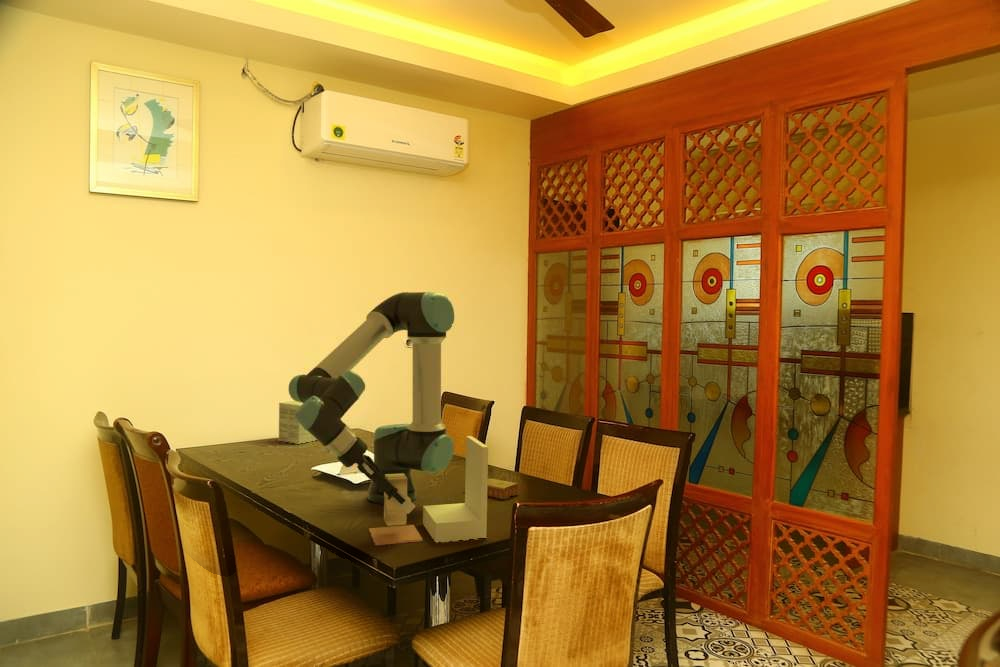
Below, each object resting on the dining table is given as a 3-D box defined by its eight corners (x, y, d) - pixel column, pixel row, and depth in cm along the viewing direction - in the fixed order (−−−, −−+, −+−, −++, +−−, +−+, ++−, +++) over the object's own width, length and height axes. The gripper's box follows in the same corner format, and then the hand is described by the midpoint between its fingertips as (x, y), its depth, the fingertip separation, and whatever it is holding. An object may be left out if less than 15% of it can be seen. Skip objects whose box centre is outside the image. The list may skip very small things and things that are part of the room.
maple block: (383, 519, 176) (384, 474, 176) (402, 518, 178) (403, 473, 178) (387, 525, 171) (387, 479, 171) (406, 524, 173) (407, 478, 172)
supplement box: (300, 437, 308) (300, 399, 308) (321, 440, 302) (321, 402, 301) (277, 441, 297) (278, 402, 296) (299, 445, 290) (299, 405, 290)
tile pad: (369, 530, 179) (369, 528, 179) (413, 526, 182) (413, 524, 182) (375, 545, 167) (375, 543, 167) (422, 541, 171) (422, 539, 171)
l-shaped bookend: (422, 523, 185) (424, 437, 185) (469, 520, 189) (471, 436, 189) (435, 542, 170) (437, 449, 169) (486, 538, 174) (488, 447, 174)
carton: (503, 501, 211) (503, 487, 211) (464, 492, 220) (464, 479, 220) (518, 495, 218) (518, 482, 217) (479, 487, 227) (479, 475, 227)
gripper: (333, 450, 178) (393, 507, 184) (339, 465, 161) (405, 528, 166) (353, 430, 180) (412, 487, 185) (361, 442, 162) (427, 505, 168)
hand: (409, 506), depth 176 cm, fingers closed on maple block, 5 cm apart
